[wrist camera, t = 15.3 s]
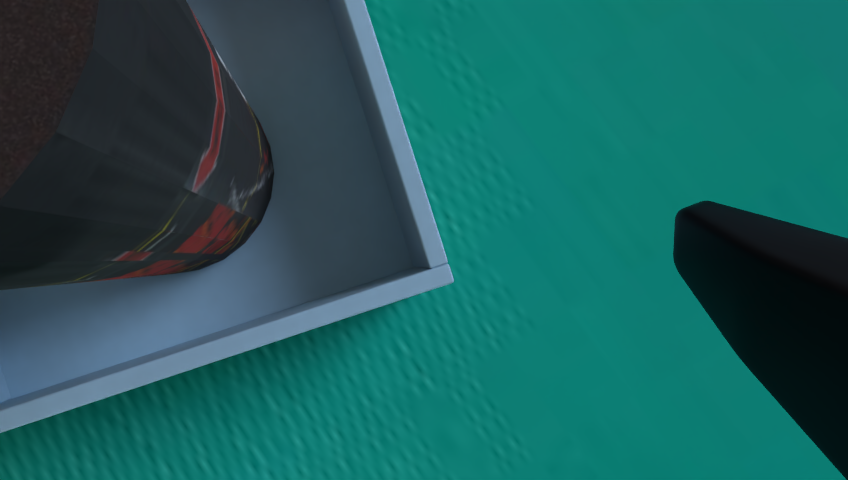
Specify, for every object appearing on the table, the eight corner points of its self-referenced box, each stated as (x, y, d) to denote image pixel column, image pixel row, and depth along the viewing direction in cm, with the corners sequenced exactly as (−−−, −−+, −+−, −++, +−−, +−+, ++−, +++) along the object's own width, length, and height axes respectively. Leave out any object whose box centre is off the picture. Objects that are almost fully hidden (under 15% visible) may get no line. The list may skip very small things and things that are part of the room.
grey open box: (431, 277, 22) (455, 281, 17) (8, 417, 20) (-86, 461, 16) (323, -60, 22) (318, -143, 17) (-111, 54, 20) (-240, -4, 16)
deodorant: (24, 210, 20) (-900, 74, 5) (131, 34, 20) (-427, -561, 6) (210, 310, 21) (-138, 449, 6) (310, 135, 21) (233, -161, 6)
